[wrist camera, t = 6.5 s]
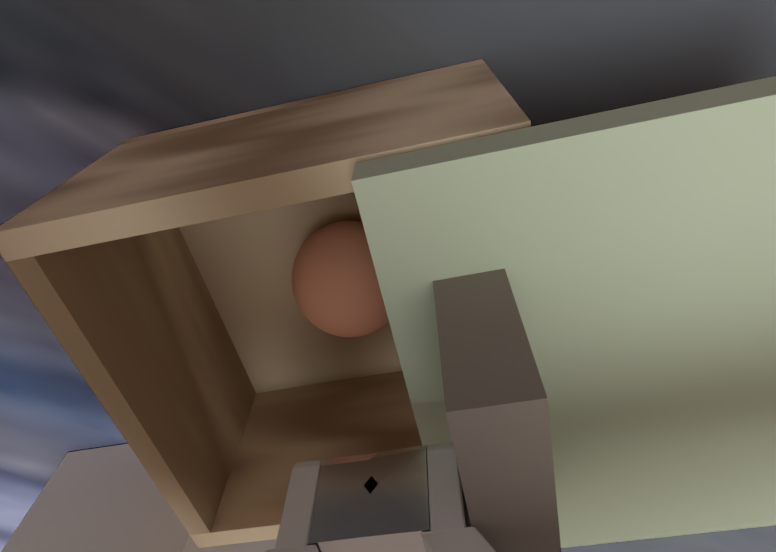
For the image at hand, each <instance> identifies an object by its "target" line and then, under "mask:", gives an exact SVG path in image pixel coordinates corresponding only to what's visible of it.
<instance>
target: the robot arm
mask: <svg viewBox="0 0 776 552" xmlns="http://www.w3.org/2000/svg"><path fill="white" fill-rule="evenodd" d="M265 552H496V551H495V550H494V549H493V548H492V546H491V545H490V544H489V543H488V542H487V541H486V539H485V538H484V537H483V536H482V535H481V533H480V532H479V531H478V530H477V529H476V527H472V526H471V522H470V518H469V513H468V509H467V504H466V500H465V496H464V491H463V487H462V482H461V478H460V474H459V469H458V465H457V460H456V456H455V451H454V447H453V443H452V442H447V443H440V444H432V445H423V446H416V447H409V448H402V449H396V450H389V451H382V452H375V453H373V454H365V455H355V456H346V457H337V458H328V459H321V460H312V461H304V462H296V464H295V466H294V468H293V469H292V471H291V476H290V480H289V485H288V490H287V494H286V499H285V503H284V508H283V513H282V517H281V522H280V526H279V531H278V536H277V540H276V545H275V549H270V550H266V551H265Z"/></svg>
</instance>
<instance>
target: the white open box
mask: <svg viewBox="0 0 776 552" xmlns="http://www.w3.org/2000/svg"><path fill="white" fill-rule="evenodd" d="M276 540H277V539H271V540H263V541H254V542H246V543H237V544H229V545H220V546H211V547H203V548H198V547H197V545H196V544H195V542H194V541H193V539H192V538H191V536H190V535H189V533H188V532H187V530H186V529H185V527H184V526H183V524H182V523H181V521H180V520H179V518H178V517H177V515H176V514H175V513H174V511H173V510H172V508H171V507H170V505H169V504H168V502H167V501H166V499H165V498H164V496H163V495H162V493H161V492H160V490H159V489H158V487H157V486H156V484H155V483H154V481H153V480H152V478H151V477H150V475H149V474H148V472H147V471H146V470H145V468H144V467H143V465H142V464H141V462H140V461H139V459H138V458H137V456H136V455H135V453H134V452H133V450H132V449H131V447H130V446H129V444H122V445H115V446H109V447H102V448H95V449H88V450H81V451H74V452H68V453H67V454H66V456H65V457H64V459H63V460H62V462H61V463H60V465H59V466H58V468H57V469H56V471H55V472H54V474H53V475H52V477H51V478H50V480H49V481H48V483H47V484H46V486H45V487H44V489H43V490H42V492H41V493H40V495H39V496H38V498H37V499H36V501H35V502H34V504H33V505H32V507H31V508H30V510H29V511H28V512H27V514H26V515H25V517H24V518H23V520H22V521H21V523H20V524H19V526H18V527H17V529H16V530H15V532H14V533H13V535H12V536H11V538H10V539H9V541H8V542H7V544H6V545H5V547H4V548H3V550H2V551H1V552H265V551H266V550H270V549H275V545H276Z"/></svg>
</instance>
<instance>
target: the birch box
mask: <svg viewBox="0 0 776 552" xmlns="http://www.w3.org/2000/svg"><path fill="white" fill-rule="evenodd" d="M527 127H531V121H530V120H529V118H528V117H527V116H526V114H525V113H524V112H523V111H522V109H521V108H520V107H519V105H518V104H517V103H516V102H515V100H514V99H513V98H512V96H511V95H510V94H509V93H508V91H507V90H506V89H505V87H504V86H503V85H502V84H501V82H500V81H499V80H498V78H497V77H496V76H495V75H494V73H493V72H492V71H491V70H490V68H489V67H488V66H487V64H486V63H485V62H484V61H483V59H479V60H475V61H470V62H466V63H461V64H457V65H452V66H448V67H444V68H439V69H435V70H430V71H426V72H421V73H417V74H413V75H408V76H404V77H399V78H395V79H391V80H386V81H382V82H377V83H373V84H368V85H364V86H360V87H355V88H351V89H346V90H342V91H338V92H333V93H329V94H324V95H320V96H315V97H311V98H307V99H302V100H298V101H293V102H289V103H285V104H280V105H276V106H271V107H267V108H262V109H258V110H254V111H249V112H245V113H240V114H236V115H231V116H227V117H223V118H218V119H214V120H209V121H205V122H201V123H196V124H192V125H187V126H183V127H178V128H174V129H170V130H165V131H161V132H156V133H152V134H148V135H143V136H139V137H134V138H130V139H127V140H126V141H124V142H123V143H121V144H120V145H118V146H117V147H115V148H114V149H113V150H111V151H110V152H108V153H107V154H105V155H104V156H102V157H101V158H99V159H98V160H96V161H95V162H93V163H92V164H90V165H89V166H87V167H86V168H84V169H83V170H82V171H80V172H79V173H77V174H76V175H74V176H73V177H71V178H70V179H68V180H67V181H65V182H64V183H62V184H61V185H59V186H58V187H56V188H55V189H53V190H52V191H51V192H49V193H48V194H46V195H45V196H43V197H42V198H40V199H39V200H37V201H36V202H34V203H33V204H31V205H30V206H28V207H27V208H25V209H24V210H22V211H21V212H19V213H18V214H17V215H15V216H14V217H12V218H11V219H9V220H8V221H6V222H5V223H3V224H2V225H0V254H1V256H2V257H3V259H4V260H5V262H6V263H7V265H8V266H9V268H10V269H11V271H12V272H13V274H14V275H15V277H16V278H17V280H18V281H19V283H20V284H21V286H22V287H23V289H24V290H25V292H26V293H27V294H28V296H29V297H30V299H31V300H32V302H33V303H34V305H35V306H36V308H37V309H38V311H39V312H40V314H41V315H42V317H43V318H44V320H45V321H46V323H47V324H48V326H49V327H50V329H51V330H52V332H53V333H54V335H55V336H56V338H57V339H58V340H59V342H60V343H61V345H62V346H63V348H64V349H65V351H66V352H67V354H68V355H69V357H70V358H71V360H72V361H73V363H74V364H75V366H76V367H77V369H78V370H79V372H80V373H81V375H82V376H83V378H84V379H85V381H86V382H87V383H88V385H89V386H90V388H91V389H92V391H93V392H94V394H95V395H96V397H97V398H98V400H99V401H100V403H101V404H102V406H103V407H104V409H105V410H106V412H107V413H108V415H109V416H110V418H111V419H112V421H113V422H114V424H115V425H116V426H117V428H118V429H119V431H120V432H121V434H122V435H123V437H124V438H125V440H126V441H127V443H128V444H129V446H130V447H131V449H132V450H133V452H134V453H135V455H136V456H137V458H138V459H139V461H140V462H141V464H142V465H143V467H144V468H145V470H146V471H147V472H148V474H149V475H150V477H151V478H152V480H153V481H154V483H155V484H156V486H157V487H158V489H159V490H160V492H161V493H162V495H163V496H164V498H165V499H166V501H167V502H168V504H169V505H170V507H171V508H172V510H173V511H174V513H175V514H176V515H177V517H178V518H179V520H180V521H181V523H182V524H183V526H184V527H185V529H186V530H187V532H188V533H189V535H190V536H191V538H192V539H193V541H194V542H195V544H196V545H197V547H198V548H203V547H211V546H220V545H229V544H237V543H246V542H254V541H263V540H271V539H277V536H278V531H279V526H280V522H281V517H282V513H283V508H284V503H285V499H286V494H287V490H288V485H289V480H290V476H291V471H292V469H293V468H294V466H295V464H296V462H304V461H312V460H321V459H328V458H337V457H346V456H355V455H365V454H373V453H375V452H382V451H389V450H396V449H402V448H409V447H416V446H422V442H421V439H420V435H419V431H418V428H417V424H416V420H415V416H414V413H413V409H412V405H411V401H410V398H409V394H408V390H407V387H406V383H405V379H404V375H403V372H402V368H401V364H400V361H399V357H398V353H397V349H396V346H395V342H394V338H393V335H392V331H391V327H390V323H389V322H388V323H387V324H386V325H385V326H384V327H382V328H381V329H379V330H377V331H375V332H373V333H370V334H367V335H364V336H359V337H340V336H335V335H332V334H329V333H327V332H325V331H323V330H321V329H319V328H318V327H316V326H315V325H314V324H312V323H311V322H310V321H309V320H308V319H307V318H306V317H305V316H304V314H303V313H302V311H301V310H300V308H299V307H298V305H297V303H296V300H295V297H294V294H293V290H292V269H293V264H294V261H295V258H296V256H297V254H298V252H299V250H300V248H301V246H302V245H303V244H304V242H305V241H306V240H307V239H308V238H309V237H310V236H311V235H312V234H313V233H315V232H316V231H318V230H319V229H321V228H323V227H325V226H327V225H329V224H332V223H336V222H341V221H359V222H362V219H361V216H360V212H359V208H358V205H357V201H356V197H355V193H354V190H353V186H352V182H351V179H352V175H353V170H354V166H355V163H359V162H364V161H368V160H373V159H378V158H383V157H388V156H393V155H397V154H402V153H407V152H412V151H417V150H421V149H426V148H431V147H436V146H441V145H446V144H450V143H455V142H460V141H465V140H470V139H474V138H479V137H484V136H489V135H494V134H499V133H503V132H508V131H513V130H518V129H523V128H527Z"/></svg>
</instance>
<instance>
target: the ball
mask: <svg viewBox="0 0 776 552" xmlns="http://www.w3.org/2000/svg"><path fill="white" fill-rule="evenodd" d="M292 290H293V294H294V297H295V300H296V303H297V305H298V307H299V308H300V310H301V311H302V313H303V314H304V316H305V317H306V318H307V319H308V320H309V321H310V322H311V323H312V324H314V325H315V326H316V327H318V328H319V329H321V330H323V331H325V332H327V333H329V334H332V335H335V336H340V337H359V336H364V335H367V334H370V333H373V332H375V331H377V330H379V329H381V328H382V327H384V326H385V325H386V324H387V323H388V322H389V320H388V316H387V312H386V309H385V305H384V301H383V297H382V294H381V290H380V286H379V283H378V279H377V275H376V271H375V268H374V264H373V260H372V257H371V253H370V249H369V245H368V242H367V238H366V234H365V231H364V227H363V223H362V222H359V221H341V222H336V223H332V224H329V225H327V226H325V227H323V228H321V229H319V230H318V231H316V232H315V233H313V234H312V235H311V236H310V237H309V238H308V239H307V240H306V241H305V242H304V244H303V245H302V246H301V248H300V250H299V252H298V254H297V256H296V258H295V261H294V264H293V269H292Z"/></svg>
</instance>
